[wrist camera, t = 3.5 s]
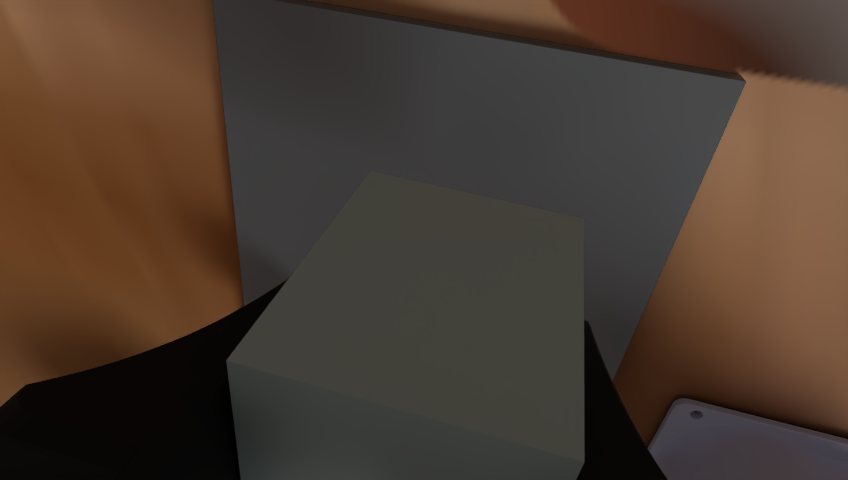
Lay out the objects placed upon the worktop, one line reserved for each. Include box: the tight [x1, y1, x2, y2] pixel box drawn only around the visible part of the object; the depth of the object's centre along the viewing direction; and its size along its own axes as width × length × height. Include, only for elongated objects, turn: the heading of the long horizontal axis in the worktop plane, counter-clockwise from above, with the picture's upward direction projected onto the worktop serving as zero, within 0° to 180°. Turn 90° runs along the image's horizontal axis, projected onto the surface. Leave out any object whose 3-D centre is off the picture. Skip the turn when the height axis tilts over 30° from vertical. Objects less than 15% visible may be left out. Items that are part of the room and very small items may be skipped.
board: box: [212, 0, 746, 382], centre depth 24 cm, size 18×20×1 cm
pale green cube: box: [226, 171, 585, 480], centre depth 12 cm, size 5×5×7 cm
